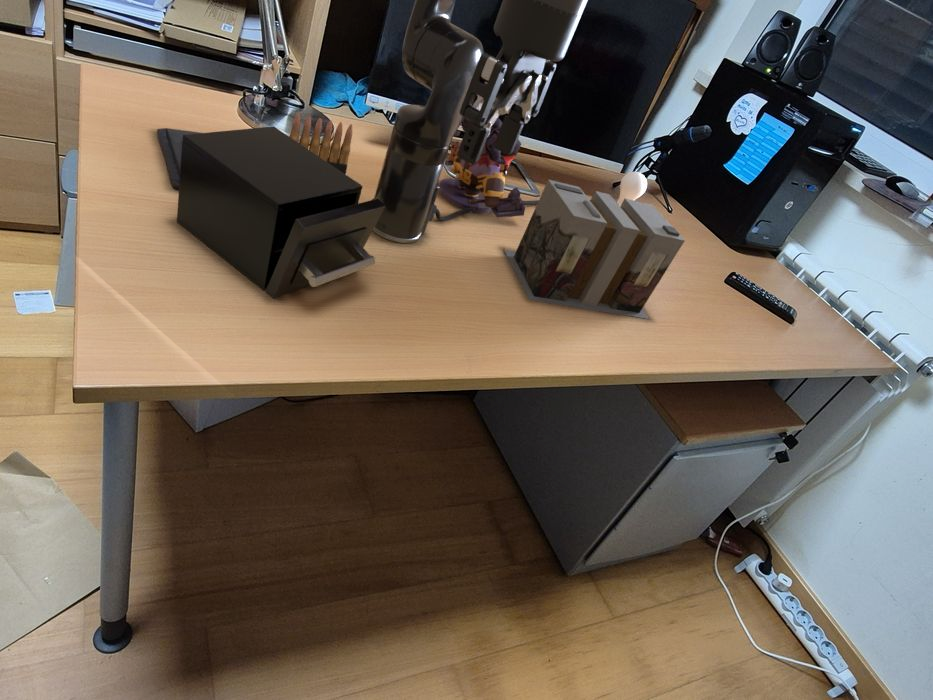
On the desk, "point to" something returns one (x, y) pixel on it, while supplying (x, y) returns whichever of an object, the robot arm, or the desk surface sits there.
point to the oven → (254, 194)
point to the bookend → (593, 251)
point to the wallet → (172, 151)
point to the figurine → (482, 179)
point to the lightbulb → (632, 186)
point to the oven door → (325, 247)
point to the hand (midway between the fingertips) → (485, 155)
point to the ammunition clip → (324, 142)
